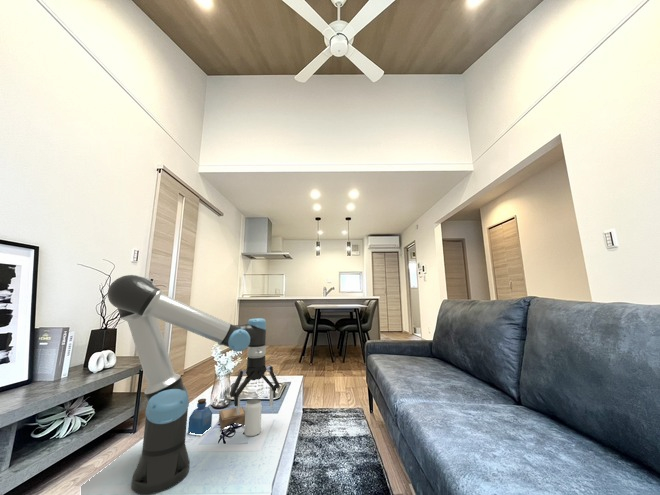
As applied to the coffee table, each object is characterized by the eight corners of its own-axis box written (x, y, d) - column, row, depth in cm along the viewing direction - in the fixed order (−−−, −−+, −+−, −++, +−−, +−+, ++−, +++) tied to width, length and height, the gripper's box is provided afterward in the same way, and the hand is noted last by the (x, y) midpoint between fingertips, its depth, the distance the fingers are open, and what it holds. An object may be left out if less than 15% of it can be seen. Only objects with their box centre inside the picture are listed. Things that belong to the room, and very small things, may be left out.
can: (256, 437, 105) (257, 404, 107) (241, 436, 106) (242, 403, 108) (263, 429, 111) (264, 398, 113) (249, 428, 112) (250, 397, 114)
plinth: (221, 430, 110) (222, 419, 111) (218, 420, 119) (219, 410, 120) (246, 425, 115) (247, 414, 116) (242, 416, 124) (242, 405, 124)
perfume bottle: (198, 427, 113) (200, 396, 116) (211, 428, 112) (213, 397, 114) (187, 434, 108) (190, 402, 110) (201, 436, 106) (203, 403, 108)
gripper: (226, 362, 104) (224, 421, 101) (287, 354, 116) (286, 406, 113) (224, 358, 111) (221, 413, 107) (281, 350, 123) (281, 400, 119)
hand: (255, 410), depth 110 cm, fingers open, 13 cm apart
